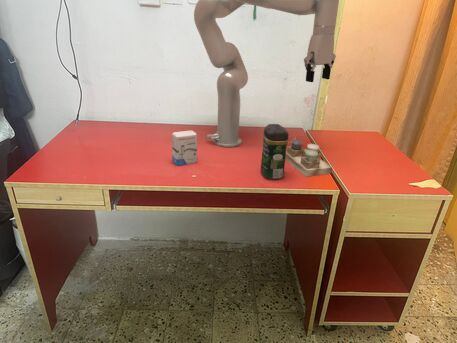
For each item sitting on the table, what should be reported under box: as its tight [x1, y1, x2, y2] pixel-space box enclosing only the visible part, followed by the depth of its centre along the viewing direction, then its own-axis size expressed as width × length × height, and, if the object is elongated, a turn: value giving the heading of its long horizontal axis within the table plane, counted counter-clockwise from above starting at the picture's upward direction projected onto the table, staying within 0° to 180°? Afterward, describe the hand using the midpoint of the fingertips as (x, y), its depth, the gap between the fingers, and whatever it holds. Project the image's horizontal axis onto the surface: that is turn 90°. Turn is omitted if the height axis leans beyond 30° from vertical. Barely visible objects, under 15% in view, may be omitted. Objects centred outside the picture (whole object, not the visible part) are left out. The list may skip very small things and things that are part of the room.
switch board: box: [285, 145, 333, 178], centre depth 134 cm, size 11×18×5 cm, turn 19°
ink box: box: [171, 130, 198, 166], centre depth 130 cm, size 9×5×12 cm, turn 117°
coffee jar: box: [260, 123, 289, 180], centre depth 122 cm, size 10×8×19 cm
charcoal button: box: [290, 139, 304, 151], centre depth 136 cm, size 4×4×4 cm
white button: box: [306, 143, 320, 153], centre depth 133 cm, size 4×4×4 cm
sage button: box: [305, 150, 319, 162], centre depth 127 cm, size 4×4×4 cm
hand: (317, 80), depth 128 cm, fingers open, 9 cm apart
